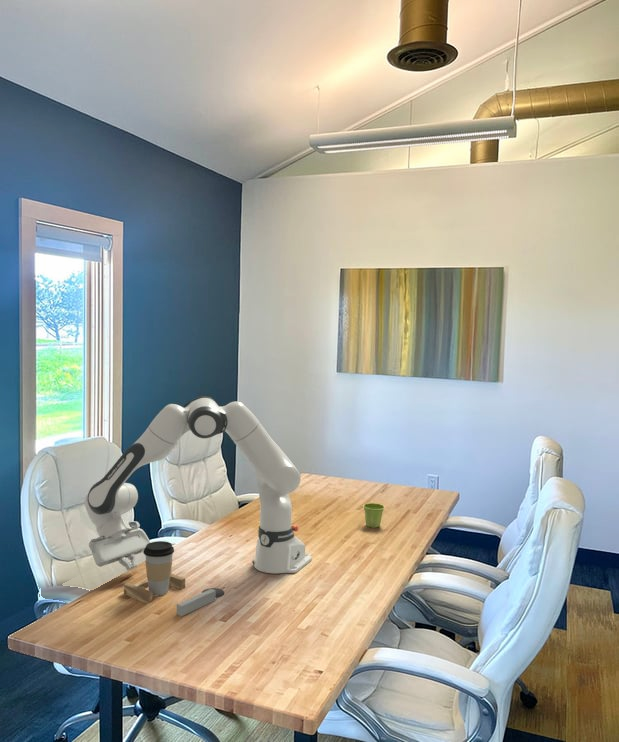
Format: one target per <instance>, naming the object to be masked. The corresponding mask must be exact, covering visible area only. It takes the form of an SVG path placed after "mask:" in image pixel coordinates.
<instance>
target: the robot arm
mask: <svg viewBox="0 0 619 742" xmlns="http://www.w3.org/2000/svg"><path fill="white" fill-rule="evenodd" d="M189 431H190V432H192V434H193V435H194V436H195V437H197V438H200V439H209V438H212V437H214V436H216V435H220V434H222V433H226V434H227V435H228V436H229V438H230V439H231V441H233V443H234V445H236V447H237V448H238V450H239V451H240V452H241V454H242V455H243V456H244V457H245V459H246V460H247V461H248V462H249V463H250V464H251V466H252V467H253V468H254V470H255V474H256V478H257V489H258V495H259V504H260V505H259V507H260V508H259V509H260V510H259V511H260V513H259V516H260V517H259V526H258V530H257V532H258V533H257V536H258V539H257V541H256V547H255V548H256V550H255V555H254V557H253V559H252V560H253V563H254V564H253V566H254V568H255V570H257V571H259V572H262V573H266V574H287V573H288V574H296V573H298V571H300V570H301V569H302V568H304V567H305V566H306V565H308V563H310V562H311V561H312V560H313V559H312V556H311V555H309V554H308V553H306V545H305V543H304V542H302V541H301V540H300V539H299V538H298V537H297V536H295V533H294V532H298V531H299V526H298V525H294V524H293V525H292V510H293V508H292V506H293V505H292V501H291V498H290V494H291V493H294V492H295V491H296V490H297V489H298V488H299V486H300V484H301V473H300V472H299V470H298V469H297V467H296V466H295V465H294V463H293V462H292V461H291V459H290V458H289V457H288V456H287V455H286V453H285V452H284V451H283V449H281V447H279V445H278V444H277V443H276V442H275V441H274V440H273V438H272V437H271V436H270V434H269V433H268V432H267V430H266V429H265V427H264V426H263V425H262V423H261V422H260V420H259V419H258V418H257V417H256V416H255V415H254V413H253V412H252V411H251V410H250V409H249V407H247V406H246V405H245V404H244V403H243V402H241V401H238V400H237V401H235V400H234V401H231V402H229V403H228V404H226V405H223V406H220V404H219V403H218V402H217V401H216V399H214V398H212V397H210V396H206V395H202V396H199V397H196V398H194V399H193V400H191V401H188V402H186V403H184V405H183V406H181V405H179V404H176V403H175V404H174V403H170V404H169V403H168V404H167V405H166V406H164V407H163V408H162V409H161V410H160V411H159V412H158V414H156V416H155V417H154V418H153V419H152V421H151V422H150V424H149V425H148V427H147V428H146V429H145V431H144V432H143V433H142V435H140V437H139V438H138V439H137V440H136V441H135V442H134V443H132V444H131V445H130V446H129V447H128V448H127V449H126V450H125V451H124V452H123V453H122V455H121V456H120V457H119V458H118V459H117V461H116V462H115V463H114V464H113V466H112V467H111V468H110V469H109V470H108V471H107V472H106V474H105V475H104V477H102V478H101V479H100V480H99V481H97V482H96V483H94V484H93V485H92V486H91V487H90V489H89V490H88V493H87V495H86V496H85V498H84V507H85V510H86V512H87V515H88V517H89V519H90V521H91V523H93V525H94V526H95V528H96V533H97V534H98V537H96V538H93V539H91V540H90V541H89V543H88V548H89V549H90V551H91V553H92V557H93V560H94V562H95V565H96V566H97V567H99V568H102V567H104V566H107V565H110V564H113V563H116V562H118V563H119V564H120V565H121V566H123V567H125V569H126V570H127V572H128V571H131V570H135V569H136V568H137V566H138V565H137V563H136V555H138V554H142V553H143V552H144V549H145V548H146V545H147V544H149V543H151V540H150V538H149V537H148V535H147V533H146V532H145V531H144V529H142V528H140V526H141V525H140V523H139V521H137V520H136V521H135V520H134V521H132V520H123V518H122V515H124V514H126V513H127V512H129V511H131V510H133V509H134V508H135V507H136V506H137V503H138V502H139V492H138V489H137V488H136V486H135V485H134V484H132V483H130V482H127V480H128V479H129V478H130V477H131V476H132V474H133V473H134V472H135V471H136V470H138V469H139V468H140V467H142V466H145V465H147V464H152V463H154V462H155V463H156V462H159V461H162V460H163V459H166V458H167V457H168V456H169V455H170V454H171V453H172V451H174V449H175V447H176V446H177V445H178V443H179V442H180V440H181V438H182V437H183V436H184V434H186V433H187V432H189ZM127 559H128V560H129V561H130V562H128V560H127Z"/></svg>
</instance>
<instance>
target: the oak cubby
mask: <svg viewBox="0 0 619 742" xmlns="http://www.w3.org/2000/svg"><path fill="white" fill-rule="evenodd" d="M169 584H170V585H169V586H171V585H172V587H174V586H175V588H176V589H179V588H180V589H179V590H183V589H185V588H186V578H185V577H183V576H180V575H178V574H175V573H172V572H171V576H170V580H169ZM147 587H148V579H147V580H143V581H141V582H139V583H136V584H133V583H130V582H127V583H124V584H123V594H124V595H125V594H126V596H128V597H131V598H133V599H135V600H137V601H139V602H142V603H144V604H147V605H148V604H150V603H152V602H153V595H152V592H151V591H149V589H145V588H147Z"/></svg>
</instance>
